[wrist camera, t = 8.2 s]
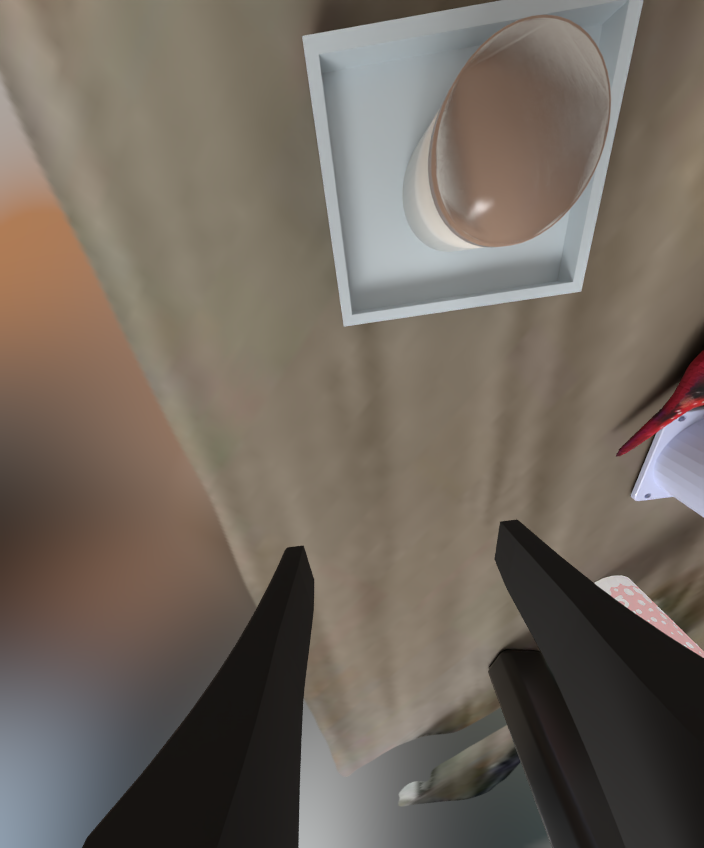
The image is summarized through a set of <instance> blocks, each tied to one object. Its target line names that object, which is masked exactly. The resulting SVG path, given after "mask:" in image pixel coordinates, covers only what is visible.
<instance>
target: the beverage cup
mask: <svg viewBox="0 0 704 848" xmlns="http://www.w3.org/2000/svg"><path fill="white" fill-rule="evenodd" d="M595 584H596V585H597V586H598V587H600V588H601V589H602V590H604V591H605V592H606V593H608V594H609V595H610V596H612V597H613V598H614V599H616V600H617V601H619V602H620V603H621V604H623V605H624V606H625V607H627V608H628V609H630V610H631V611H633V612H634V613H635V614H637V615H638V616H640V617H641V618H643V619H644V620H646V621H647V622H649V623H650V624H652V625H653V626H655V627H656V628H657V629H659V630H660V631H662V632H663V633H665V634H666V635H668V636H670V637H671V638H673V639H674V640H676V641H677V642H679V643H680V644H682V645H684V646H685V647H687V648H688V649H690V650H692V651H693V652H695V653H697V654H698V655H700V656H702V657H703V658H704V651H703V650H702V649H701V648H700V647H699V646H698V645H697V644H696V643H695V642H693V641H692V640H691V639H690V638H689V637H688V636H687V635H686V634H685V633H684V632H683V631H682V630H681V629H680V628H679V627H678V626H677V625H676V624H675V623H674V622H673V621H672V620H671V619H670V618H669V617H668V616H667V615H666V614H665V613H664V612H663V611H662V610H661V609H660V608H659V607H658V606H657V605H656V604H655V603H654V602H653V601H652V600H651V599H650V598H649V597H648V596H647V595H646V594H645V593H644V592H643V591H642V590H641V589H640V588H638V587H637V586H636V585H635V584H634V583H633V582H632V581H631V580H630V579H629V578H628V577H625V576H622V575H620V576H610V577H606V578H603V579H601V580H598V581H596V582H595Z"/></svg>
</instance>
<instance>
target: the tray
mask: <svg viewBox="0 0 704 848" xmlns="http://www.w3.org/2000/svg"><path fill="white" fill-rule="evenodd" d="M642 5H643V0H500V1H494V2H489V3H483V4H478V5H472V6H467V7H461V8H455V9H450V10H444V11H439V12H433V13H428V14H422V15H417V16H411V17H405V18H400V19H394V20H389V21H383V22H378V23H372V24H367V25H361V26H355V27H350V28H344V29H339V30H333V31H328V32H322V33H317V34H311V35H305V36H302V38H303V45H304V52H305V59H306V66H307V73H308V80H309V87H310V94H311V101H312V108H313V115H314V122H315V129H316V136H317V143H318V149H319V156H320V163H321V170H322V177H323V184H324V191H325V198H326V205H327V212H328V219H329V226H330V233H331V240H332V247H333V254H334V261H335V268H336V275H337V282H338V289H339V296H340V303H341V310H342V317H343V324H344V326H351V325H357V324H364V323H371V322H378V321H384V320H391V319H398V318H405V317H412V316H418V315H425V314H432V313H439V312H445V311H452V310H459V309H466V308H472V307H479V306H486V305H493V304H500V303H506V302H513V301H520V300H527V299H533V298H540V297H547V296H554V295H560V294H567V293H574V292H581V289H582V285H583V280H584V275H585V271H586V266H587V261H588V257H589V252H590V247H591V243H592V238H593V233H594V229H595V224H596V219H597V215H598V210H599V205H600V201H601V196H602V191H603V187H604V182H605V177H606V173H607V168H608V163H609V159H610V154H611V149H612V145H613V140H614V135H615V131H616V126H617V121H618V117H619V112H620V107H621V103H622V98H623V93H624V89H625V84H626V79H627V75H628V70H629V65H630V61H631V56H632V51H633V47H634V42H635V37H636V33H637V28H638V23H639V19H640V14H641V9H642ZM536 15H554V16H559V17H563V18H566V19H569V20H571V21H572V22H574V23H576V24H577V25H579V26H580V27H582V28H583V29H584V30H585V31H586V32H587V33H588V34H589V35H590V36H591V38H592V39H593V40H594V42H595V43H596V44H597V46H598V48H599V50H600V52H601V54H602V56H603V58H604V61H605V64H606V68H607V71H608V76H609V81H610V91H611V113H610V121H609V128H608V133H607V137H606V141H605V146H604V148H603V151H602V154H601V157H600V160H599V162H598V165H597V167H596V169H595V172H594V174H593V176H592V177H591V179H590V181H589V183H588V185H587V187H586V188H585V190H584V191H583V193H582V194H581V196H580V197H579V199H578V200H577V201H576V202H575V204H574V205H573V206H572V207H571V209H570V210H569V211H568V212H567V213H566V214H565V215H564V216H563V217H562V218H561V219H560V220H559V221H558V222H556V223H555V224H554V225H553V226H552V227H550V228H549V229H548V230H546V231H545V232H543V233H542V234H540V235H538V236H536V237H534V238H532V239H530V240H528V241H525V242H523V243H519V244H515V245H511V246H503V247H493V248H490V247H484V248H476V249H469V250H462V251H454V252H443V251H438V250H435V249H432V248H430V247H428V246H427V245H425V244H424V243H423V242H421V241H420V240H419V239H418V238H417V237H416V235H415V234H414V233H413V231H412V230H411V228H410V226H409V224H408V221H407V219H406V216H405V212H404V207H403V181H404V176H405V172H406V168H407V165H408V162H409V160H410V158H411V155H412V153H413V152H414V150H415V148H416V146H417V145H418V143H419V141H420V140H421V138H422V136H423V135H424V133H425V132H426V130H427V128H428V127H429V125H430V123H431V122H432V120H433V119H434V117H435V115H436V114H437V112H438V111H439V109H440V107H441V105H442V103H443V101H444V98H445V97H446V95H447V93H448V91H449V90H450V88H451V86H452V84H453V83H454V81H455V79H456V78H457V76H458V74H459V73H460V71H461V70H462V68H463V67H464V66H465V64H466V63H467V61H468V60H469V58H470V57H471V56H472V55H473V54H474V53H475V52H476V50H477V49H478V48H479V47H480V46H481V45H482V44H483V43H484V42H485V41H486V40H488V39H489V38H490V37H491V36H492V35H493V34H495V33H496V32H498V31H499V30H501V29H502V28H504V27H505V26H507V25H509V24H511V23H513V22H515V21H517V20H520V19H523V18H526V17H530V16H536Z"/></svg>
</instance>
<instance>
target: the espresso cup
mask: <svg viewBox="0 0 704 848" xmlns="http://www.w3.org/2000/svg"><path fill="white" fill-rule="evenodd" d="M610 113H611V91H610V81H609V76H608V71H607V68H606V64H605V61H604V58H603V56H602V54H601V52H600V50H599V48H598V46H597V44H596V43H595V42H594V40H593V39H592V38H591V36H590V35H589V34H588V33H587V32H586V31H585V30H584V29H583V28H582V27H580V26H579V25H577V24H576V23H574V22H572V21H571V20H569V19H566V18H563V17H559V16H554V15H536V16H530V17H526V18H523V19H520V20H517V21H515V22H513V23H511V24H509V25H507V26H505V27H504V28H502V29H501V30H499V31H498V32H496V33H495V34H493V35H492V36H491V37H490V38H489V39H488V40H486V41H485V42H484V43H483V44H482V45H481V46H480V47H479V48H478V49H477V50H476V52H475V53H474V54H473V55H472V56H471V57H470V58H469V60H468V61H467V63H466V64H465V66H464V67H463V68H462V70H461V71H460V73H459V74H458V76H457V78H456V79H455V81H454V83H453V84H452V86H451V88H450V90H449V91H448V93H447V95H446V97H445V98H444V101H443V103H442V105H441V107H440V109H439V111H438V112H437V114H436V115H435V117H434V119H433V120H432V122H431V123H430V125H429V127H428V128H427V130H426V132H425V133H424V135H423V136H422V138H421V140H420V141H419V143H418V145H417V146H416V148H415V150H414V152H413V153H412V155H411V158H410V160H409V162H408V165H407V168H406V172H405V176H404V181H403V207H404V212H405V216H406V219H407V221H408V224H409V226H410V228H411V230H412V231H413V233H414V234H415V235H416V237H417V238H418V239H419V240H420V241H421V242H423V243H424V244H425V245H427V246H428V247H430V248H432V249H435V250H438V251H443V252H454V251H462V250H469V249H476V248H484V247H490V248H493V247H503V246H511V245H515V244H519V243H523V242H525V241H528V240H530V239H532V238H534V237H536V236H538V235H540V234H542V233H543V232H545V231H546V230H548V229H549V228H550V227H552V226H553V225H554V224H555V223H556V222H558V221H559V220H560V219H561V218H562V217H563V216H564V215H565V214H566V213H567V212H568V211H569V210H570V209H571V207H572V206H573V205H574V204H575V202H576V201H577V200H578V199H579V197H580V196H581V194H582V193H583V191H584V190H585V188H586V187H587V185H588V183H589V181H590V179H591V177H592V176H593V174H594V172H595V169H596V167H597V165H598V162H599V160H600V157H601V154H602V151H603V148H604V146H605V141H606V137H607V133H608V128H609V121H610Z"/></svg>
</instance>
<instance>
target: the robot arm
mask: <svg viewBox="0 0 704 848" xmlns="http://www.w3.org/2000/svg"><path fill="white" fill-rule="evenodd" d="M631 497H632V498H633V499H634V500H636V501H642V500H650V499H658V498H666V497H675V498H676V499H678V500H679V501H681V502H682V503H683V504H685V505H686V506H688V507H689V508H691V509H692V510H694V511H695V512H696V513H698V514H699V515H701V516H702V517H704V407H696V408H693V409H691V410H690V411H688V412H686V413H685V414H683V415H682V416H680V417H679V418H677V419H675V420H674V421H673V422H671V423H670V424H668V425H667V426H665V427H664V428H663V429H661V430H659V431H658V432H657V433H656V435H655V438H654V440H653V443H652V445H651V447H650V450H649V452H648V455H647V457H646V460H645V462H644V464H643V467H642V469H641V472H640V474H639V477H638V479H637V481H636V484H635V486H634V489H633V491H632V494H631ZM495 561H496V564H497V566H498V569H499V571H500V574H501V576H502V579H503V581H504V583H505V586H506V588H507V590H508V592H509V594H510V596H511V597H512V599H513V601H514V603H515V605H516V607H517V609H518V610H519V612H520V614H521V616H522V618H523V620H524V621H525V623H526V625H527V627H528V629H529V630H530V632H531V634H532V636H533V638H534V640H535V641H536V643H537V645H538V647H539V649H540V651H541V652H542V654H543V656H544V658H545V660H546V662H547V664H548V666H549V668H550V670H551V672H552V674H553V675H554V678H555V680H556V682H557V684H558V686H559V689H560V691H561V693H562V695H563V698H564V700H565V702H566V704H567V706H568V709H569V711H570V713H571V715H572V718H573V720H574V722H575V725H576V727H577V729H578V732H579V734H580V736H581V739H582V741H583V743H584V746H585V748H586V750H587V752H588V755H589V757H590V760H591V762H592V765H593V767H594V769H595V772H596V774H597V777H598V779H599V782H600V784H601V786H602V789H603V791H604V794H605V796H606V799H607V801H608V804H609V806H610V809H611V811H612V814H613V816H614V819H615V822H616V824H617V827H618V829H619V832H620V834H621V837H622V840H623V842H624V845H625V847H626V848H704V658H703V657H702V656H700V655H698V654H697V653H695V652H693V651H692V650H690V649H688V648H687V647H685V646H684V645H682V644H680V643H679V642H677V641H676V640H674V639H673V638H671V637H670V636H668V635H666V634H665V633H663V632H662V631H660V630H659V629H657V628H656V627H655V626H653V625H652V624H650V623H649V622H647V621H646V620H644V619H643V618H641V617H640V616H638V615H637V614H635V613H634V612H633V611H631V610H630V609H628V608H627V607H625V606H624V605H623V604H621V603H620V602H619V601H617V600H616V599H614V598H613V597H612V596H610V595H609V594H608V593H606V592H605V591H604V590H602V589H601V588H600V587H598V586H597V585H596V584H595V583H593V582H592V581H591V580H589V579H588V578H587V577H586V576H584V575H583V574H582V573H581V572H579V571H578V570H577V569H576V568H574V567H573V566H572V565H571V564H569V563H568V562H567V561H566V560H564V559H563V558H562V557H561V556H560V555H558V554H557V553H556V552H555V551H554V550H552V549H551V548H550V547H549V546H548V545H547V544H545V543H544V542H543V541H542V540H541V539H539V538H538V537H537V536H536V535H535V534H534V533H532V532H531V531H530V530H529V529H528V528H527V527H526V526H524V525H523V524H522V523H521V522H520V521H518V520H510V521H502V522H500V526H499V533H498V540H497V546H496V553H495ZM313 611H314V578H313V575H312V571H311V568H310V565H309V562H308V558H307V555H306V552H305V549H304V546H296V547H288V548H287V549H286V550H285V551H284V554H283V556H282V558H281V561H280V563H279V565H278V567H277V569H276V571H275V573H274V576H273V578H272V580H271V582H270V584H269V586H268V588H267V590H266V592H265V593H264V595H263V597H262V599H261V601H260V603H259V605H258V607H257V609H256V611H255V612H254V614H253V616H252V618H251V620H250V621H249V623H248V625H247V626H246V628H245V630H244V631H243V633H242V635H241V637H240V638H239V640H238V642H237V643H236V645H235V647H234V648H233V650H232V651H231V653H230V655H229V656H228V658H227V659H226V661H225V662H224V664H223V665H222V667H221V668H220V670H219V672H218V673H217V674H216V676H215V677H214V679H213V680H212V682H211V683H210V685H209V686H208V687H207V689H206V690H205V692H204V693H203V694H202V696H201V697H200V699H199V700H198V702H197V703H196V704H195V706H194V707H193V709H192V710H191V711H190V713H189V714H188V715H187V717H186V718H185V719H184V721H183V722H182V723H181V725H180V726H179V727H178V728H177V730H176V731H175V732H174V734H173V735H172V736H171V737H170V739H169V740H168V741H167V742H166V744H165V745H164V746H163V748H162V749H161V750H160V751H159V753H158V754H157V755H156V756H155V758H154V759H153V760H152V761H151V763H150V764H149V765H148V766H147V768H146V769H145V770H144V771H143V773H142V774H141V775H140V776H139V777H138V779H137V780H136V781H135V782H134V783H133V784H132V786H131V787H130V788H129V789H128V790H127V791H126V793H125V794H124V795H123V796H122V797H121V798H120V800H119V801H118V802H117V803H116V804H115V806H114V807H113V808H112V809H111V810H110V811H109V812H108V814H107V815H106V816H105V817H104V818H103V819H102V821H101V822H100V823H99V824H98V825H97V826H96V828H95V829H94V830H93V831H92V832H91V834H90V835H89V836H88V837H87V839H86V841H85V843H84V845H83V847H82V848H298V836H299V833H298V832H299V795H300V790H299V789H300V763H301V762H300V761H301V736H302V715H303V698H304V686H305V678H306V670H307V661H308V653H309V645H310V637H311V629H312V620H313Z"/></svg>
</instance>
